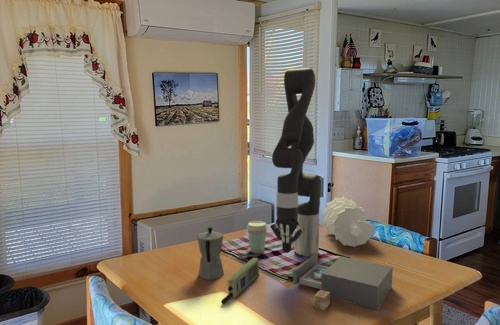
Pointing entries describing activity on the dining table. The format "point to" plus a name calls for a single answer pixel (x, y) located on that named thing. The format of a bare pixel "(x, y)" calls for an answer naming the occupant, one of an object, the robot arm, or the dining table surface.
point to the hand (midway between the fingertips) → (286, 251)
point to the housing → (358, 282)
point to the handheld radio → (242, 279)
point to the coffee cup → (257, 236)
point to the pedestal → (321, 299)
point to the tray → (307, 273)
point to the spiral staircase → (347, 222)
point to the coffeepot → (210, 255)
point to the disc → (317, 273)
